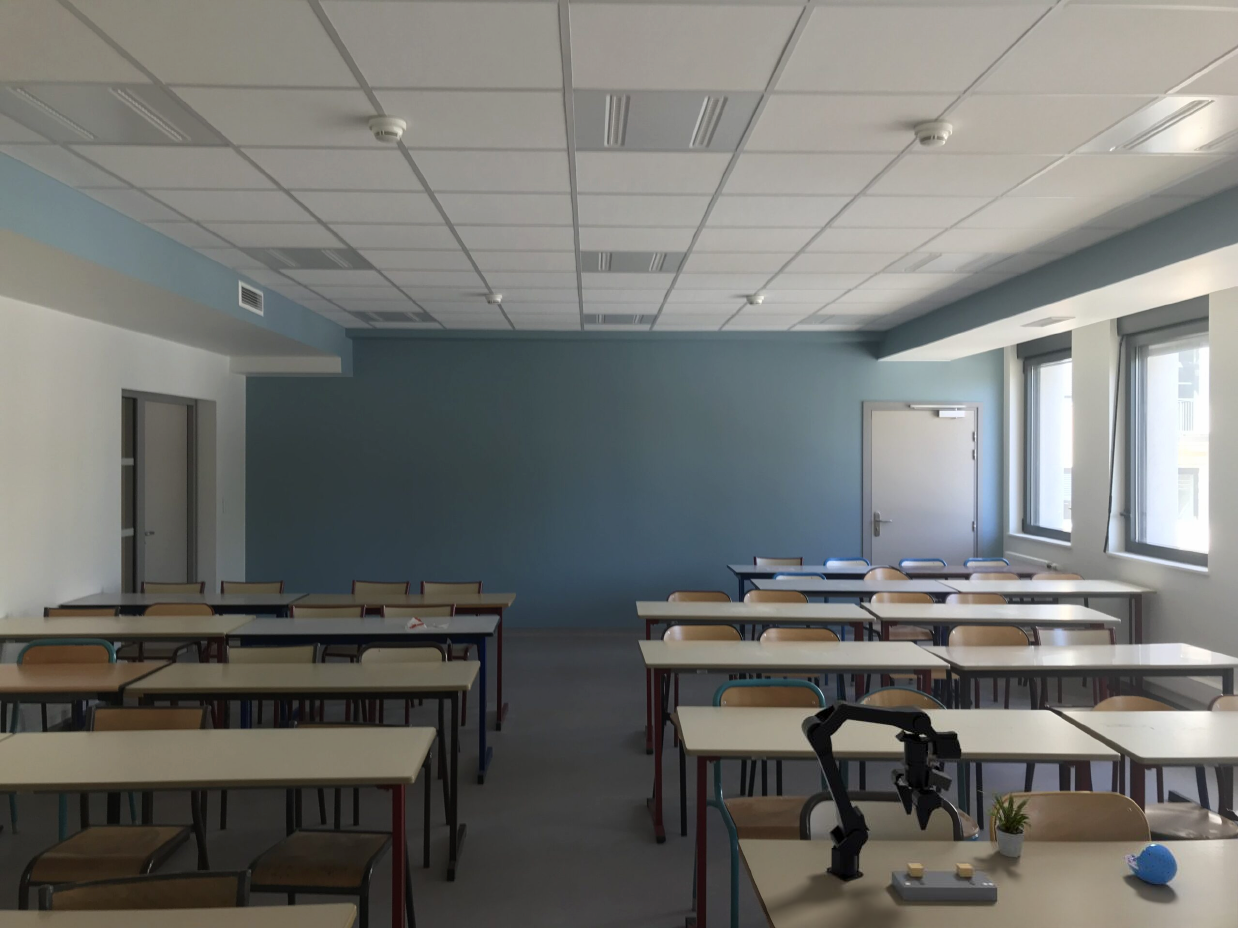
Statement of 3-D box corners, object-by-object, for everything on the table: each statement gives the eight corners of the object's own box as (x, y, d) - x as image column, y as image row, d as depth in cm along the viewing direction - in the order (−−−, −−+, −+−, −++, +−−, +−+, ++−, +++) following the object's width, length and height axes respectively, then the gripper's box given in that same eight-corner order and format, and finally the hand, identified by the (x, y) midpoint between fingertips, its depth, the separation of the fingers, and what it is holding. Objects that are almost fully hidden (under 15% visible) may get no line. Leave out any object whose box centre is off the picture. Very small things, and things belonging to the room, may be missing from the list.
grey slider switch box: (903, 900, 188) (903, 886, 188) (891, 883, 196) (891, 870, 196) (997, 900, 189) (997, 886, 189) (981, 883, 197) (981, 870, 197)
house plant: (973, 856, 211) (973, 793, 211) (976, 836, 223) (977, 777, 224) (1034, 869, 204) (1034, 804, 205) (1034, 848, 217) (1035, 786, 217)
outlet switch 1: (911, 876, 193) (911, 867, 193) (907, 871, 196) (907, 863, 196) (923, 876, 193) (923, 867, 193) (919, 871, 196) (919, 863, 196)
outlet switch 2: (960, 876, 194) (960, 867, 194) (956, 871, 196) (956, 863, 196) (973, 876, 194) (973, 868, 194) (968, 871, 196) (968, 863, 196)
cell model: (1148, 867, 206) (1148, 830, 206) (1188, 891, 194) (1188, 851, 194) (1113, 870, 205) (1113, 831, 205) (1151, 893, 193) (1151, 853, 193)
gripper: (964, 772, 192) (964, 838, 192) (932, 746, 211) (932, 807, 211) (918, 772, 192) (918, 838, 192) (890, 746, 211) (890, 806, 210)
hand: (915, 821), depth 201 cm, fingers open, 9 cm apart
